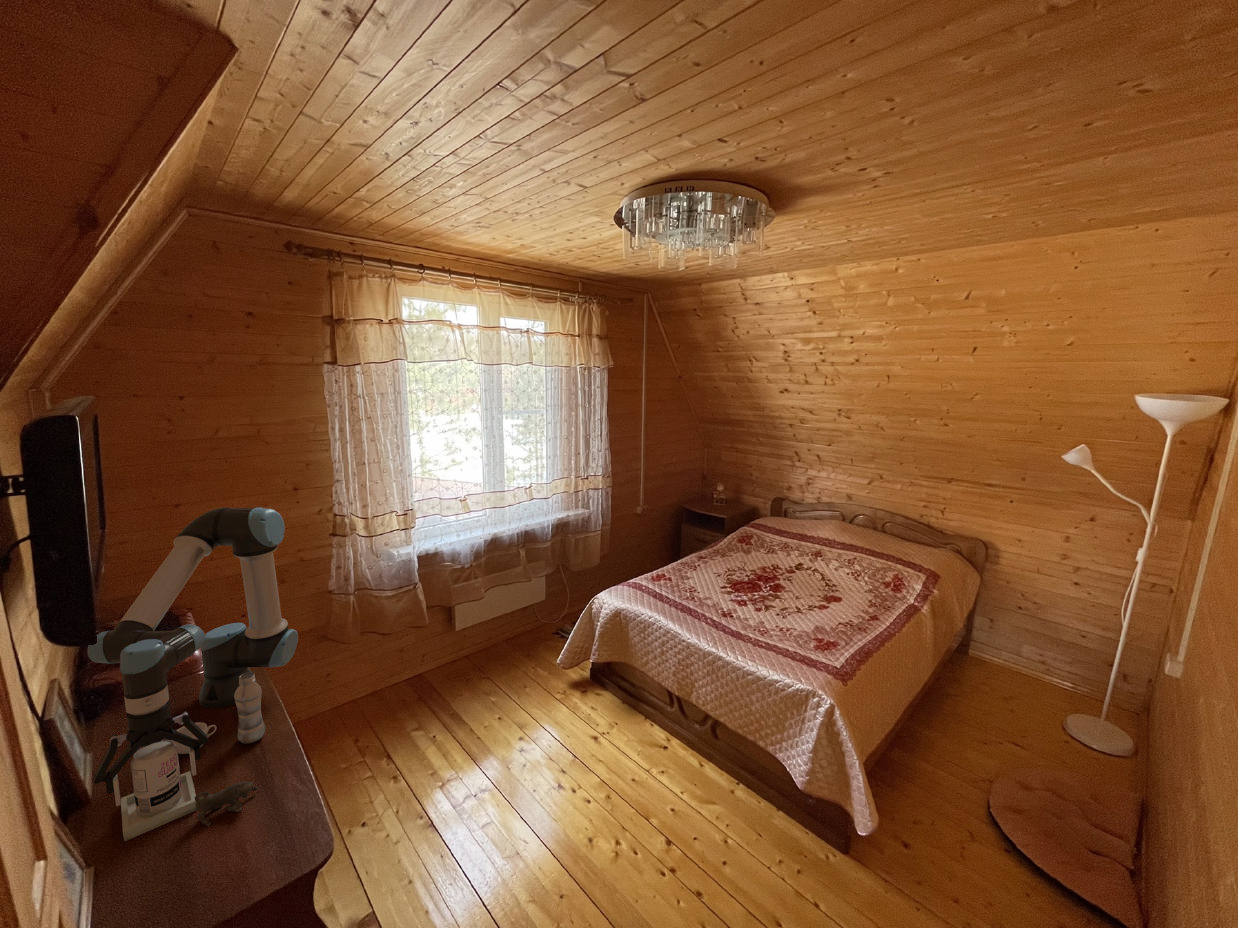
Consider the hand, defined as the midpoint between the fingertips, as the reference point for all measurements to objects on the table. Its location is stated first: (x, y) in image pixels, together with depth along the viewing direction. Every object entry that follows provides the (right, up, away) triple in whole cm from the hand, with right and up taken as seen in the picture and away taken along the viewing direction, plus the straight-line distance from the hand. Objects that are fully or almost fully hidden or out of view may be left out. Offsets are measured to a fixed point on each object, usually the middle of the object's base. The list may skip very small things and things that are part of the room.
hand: (157, 786), depth 123 cm
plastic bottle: (+5, -2, +25) cm, 26 cm away
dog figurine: (+16, -7, +1) cm, 18 cm away
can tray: (0, -6, +1) cm, 6 cm away
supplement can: (0, -5, +1) cm, 5 cm away
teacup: (-9, -3, +22) cm, 24 cm away
